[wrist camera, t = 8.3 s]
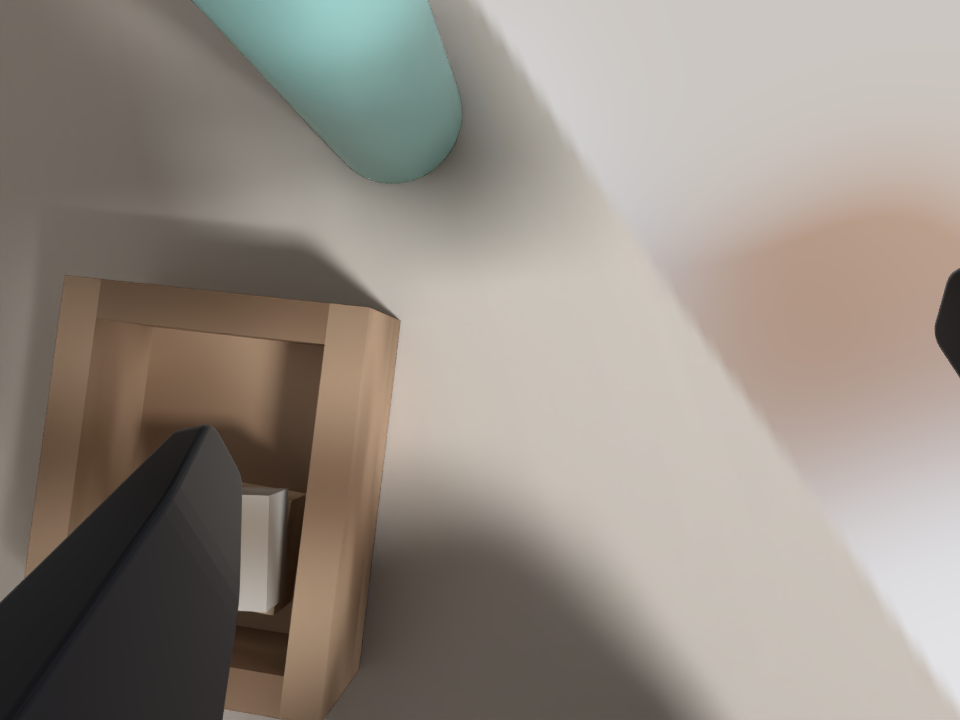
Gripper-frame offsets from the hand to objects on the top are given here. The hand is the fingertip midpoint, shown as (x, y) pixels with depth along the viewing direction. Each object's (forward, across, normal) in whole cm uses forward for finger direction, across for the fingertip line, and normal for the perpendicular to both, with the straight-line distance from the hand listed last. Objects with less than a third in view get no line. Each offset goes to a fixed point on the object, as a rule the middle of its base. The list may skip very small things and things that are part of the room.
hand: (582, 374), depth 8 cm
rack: (+9, +9, +8) cm, 15 cm away
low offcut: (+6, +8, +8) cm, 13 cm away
